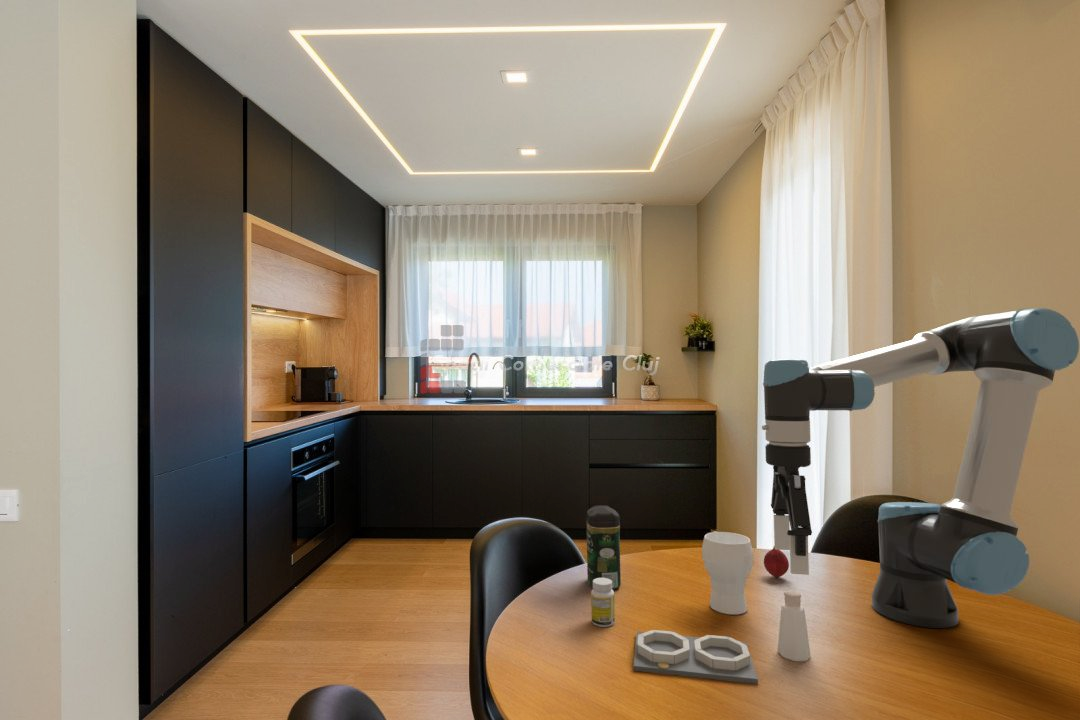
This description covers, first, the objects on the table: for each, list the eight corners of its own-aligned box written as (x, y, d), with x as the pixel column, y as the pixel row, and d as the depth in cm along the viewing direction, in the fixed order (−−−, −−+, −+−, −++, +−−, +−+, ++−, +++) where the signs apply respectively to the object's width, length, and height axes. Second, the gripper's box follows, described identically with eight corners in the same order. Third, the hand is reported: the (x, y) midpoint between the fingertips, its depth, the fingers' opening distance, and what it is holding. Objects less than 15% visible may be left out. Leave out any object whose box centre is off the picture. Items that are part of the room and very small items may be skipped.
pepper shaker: (778, 659, 96) (777, 596, 96) (776, 645, 101) (775, 585, 101) (812, 664, 94) (810, 600, 94) (808, 650, 99) (807, 589, 99)
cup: (758, 619, 111) (757, 546, 112) (705, 615, 114) (704, 543, 114) (749, 599, 122) (748, 532, 122) (700, 596, 124) (699, 530, 125)
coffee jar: (585, 577, 136) (584, 503, 137) (616, 577, 136) (615, 503, 137) (590, 592, 127) (589, 512, 127) (623, 591, 127) (622, 512, 128)
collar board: (745, 646, 100) (745, 633, 100) (758, 684, 88) (757, 669, 88) (636, 635, 105) (636, 623, 105) (633, 670, 92) (633, 656, 92)
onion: (793, 582, 132) (792, 549, 133) (769, 582, 132) (769, 549, 133) (783, 574, 138) (782, 542, 138) (760, 574, 138) (759, 542, 138)
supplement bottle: (601, 615, 114) (601, 575, 114) (619, 622, 111) (618, 580, 111) (586, 622, 111) (586, 581, 111) (604, 630, 107) (604, 587, 108)
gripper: (754, 436, 112) (756, 539, 111) (780, 451, 88) (783, 583, 87) (793, 437, 110) (796, 542, 109) (830, 452, 86) (834, 587, 85)
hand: (790, 560), depth 98 cm, fingers open, 13 cm apart
